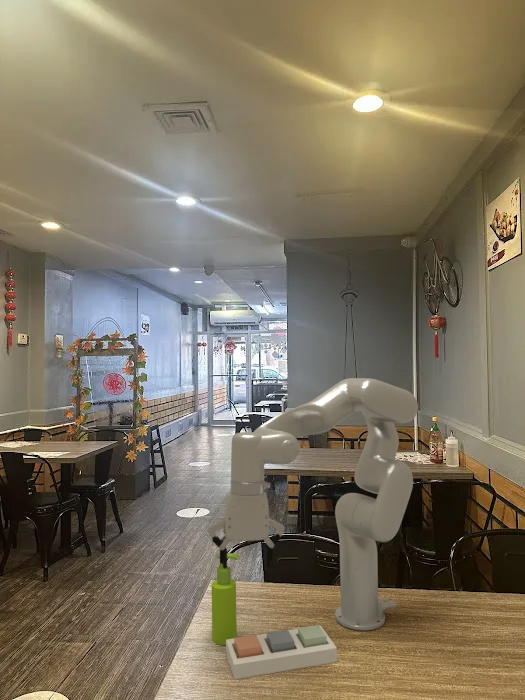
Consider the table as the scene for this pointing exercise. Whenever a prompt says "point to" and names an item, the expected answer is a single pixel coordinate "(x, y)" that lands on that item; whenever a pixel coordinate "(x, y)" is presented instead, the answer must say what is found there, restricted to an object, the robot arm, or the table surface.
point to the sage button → (311, 636)
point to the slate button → (280, 641)
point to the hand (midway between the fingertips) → (245, 565)
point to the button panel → (280, 657)
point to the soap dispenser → (224, 604)
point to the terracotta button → (247, 646)
